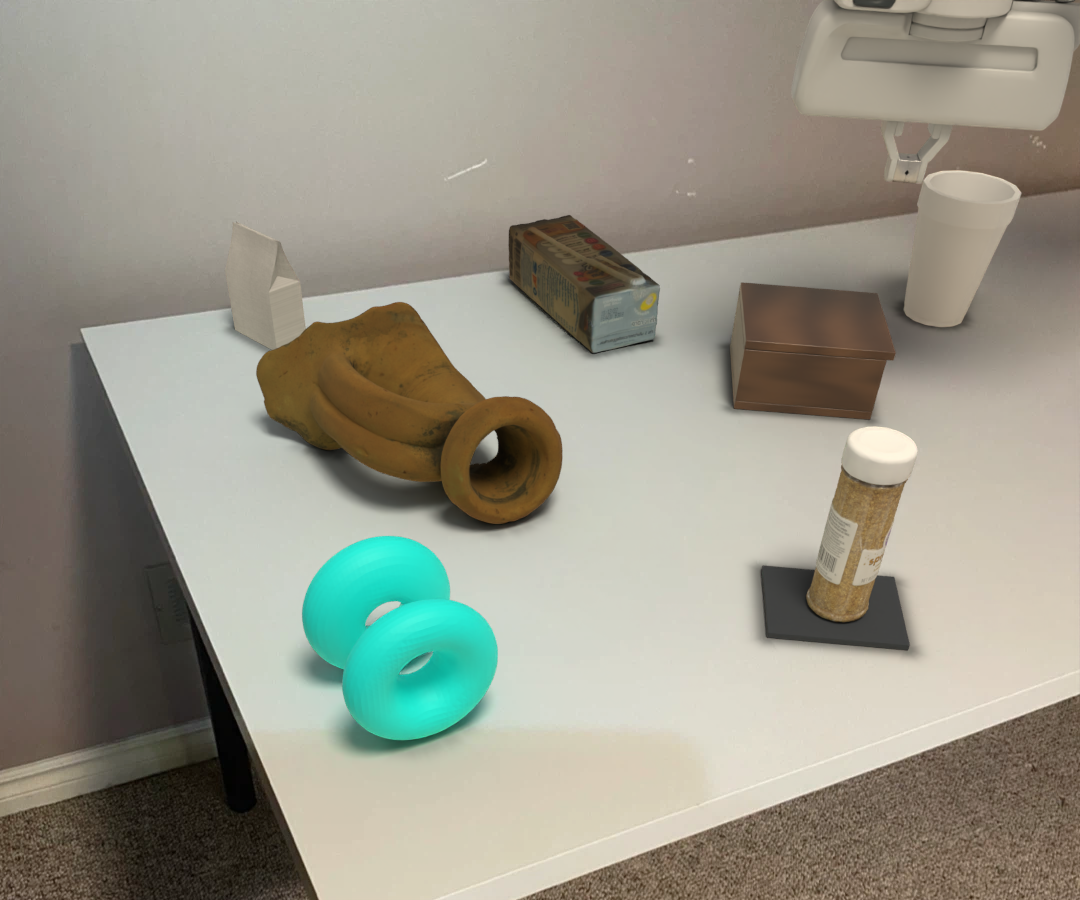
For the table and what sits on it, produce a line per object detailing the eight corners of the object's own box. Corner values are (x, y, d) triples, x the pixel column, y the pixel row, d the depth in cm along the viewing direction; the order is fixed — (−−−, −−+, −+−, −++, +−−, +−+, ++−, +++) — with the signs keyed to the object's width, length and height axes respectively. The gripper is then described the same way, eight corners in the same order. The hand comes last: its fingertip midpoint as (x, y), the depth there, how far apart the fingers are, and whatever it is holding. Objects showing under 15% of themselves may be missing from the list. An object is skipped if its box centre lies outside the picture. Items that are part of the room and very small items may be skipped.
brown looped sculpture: (469, 304, 96) (594, 371, 80) (441, 445, 102) (553, 533, 86) (266, 268, 86) (363, 337, 71) (249, 426, 92) (334, 522, 77)
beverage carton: (588, 356, 106) (593, 290, 101) (504, 281, 118) (505, 219, 113) (657, 342, 109) (664, 277, 104) (568, 270, 120) (571, 209, 116)
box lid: (875, 300, 104) (878, 292, 103) (893, 361, 95) (896, 352, 94) (739, 290, 104) (740, 281, 104) (744, 349, 95) (745, 340, 95)
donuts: (440, 629, 76) (436, 510, 69) (505, 719, 70) (507, 598, 62) (305, 671, 72) (285, 550, 65) (360, 770, 66) (345, 648, 59)
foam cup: (927, 288, 120) (964, 164, 111) (995, 320, 115) (1040, 192, 106) (871, 308, 116) (904, 180, 107) (939, 341, 111) (980, 210, 102)
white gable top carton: (277, 352, 104) (262, 248, 97) (235, 330, 107) (217, 226, 100) (307, 340, 106) (294, 237, 99) (265, 318, 109) (249, 216, 102)
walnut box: (855, 357, 108) (869, 300, 104) (870, 419, 99) (886, 360, 95) (729, 347, 108) (739, 290, 104) (733, 409, 100) (744, 349, 95)
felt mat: (892, 581, 82) (894, 576, 81) (908, 650, 76) (910, 645, 76) (761, 570, 82) (762, 565, 82) (766, 637, 76) (767, 632, 76)
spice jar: (872, 626, 77) (926, 461, 67) (808, 623, 77) (854, 458, 67) (861, 587, 80) (911, 424, 71) (800, 584, 80) (842, 421, 71)
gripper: (1088, -24, 79) (1022, 176, 89) (810, -41, 80) (775, 159, 90) (1113, -5, 75) (1041, 203, 84) (818, -23, 76) (780, 185, 85)
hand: (902, 180), depth 87 cm, fingers closed
